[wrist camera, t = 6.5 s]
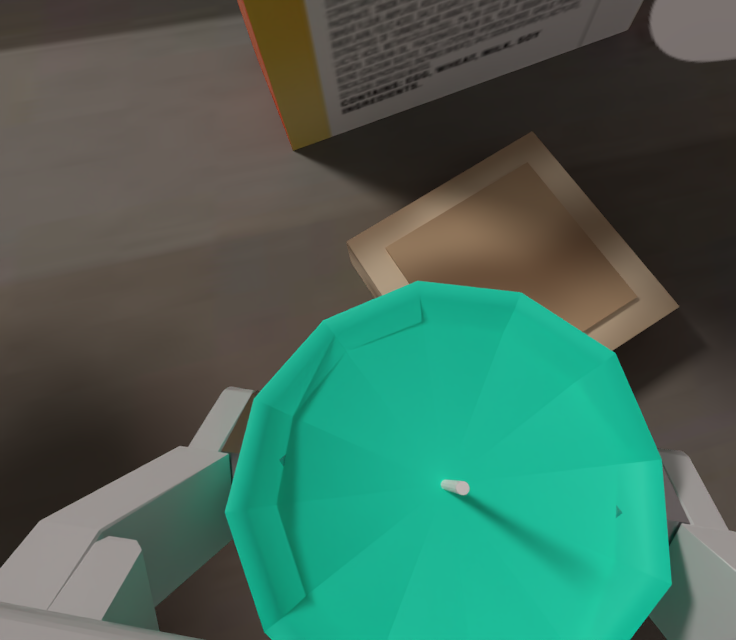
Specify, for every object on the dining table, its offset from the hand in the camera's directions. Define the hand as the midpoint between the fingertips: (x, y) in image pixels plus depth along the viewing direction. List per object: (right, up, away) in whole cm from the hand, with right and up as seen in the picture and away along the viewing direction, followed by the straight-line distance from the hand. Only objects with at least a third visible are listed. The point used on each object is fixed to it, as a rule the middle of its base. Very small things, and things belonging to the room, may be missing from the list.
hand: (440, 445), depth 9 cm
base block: (+6, +4, +21) cm, 22 cm away
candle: (0, -3, +8) cm, 8 cm away
